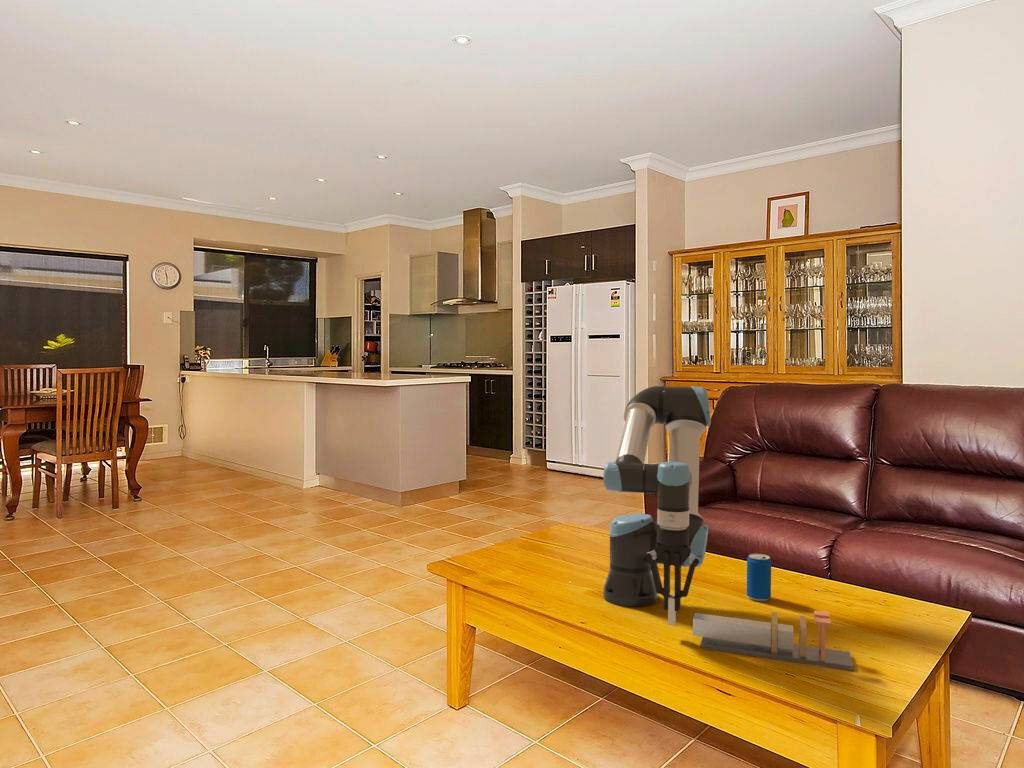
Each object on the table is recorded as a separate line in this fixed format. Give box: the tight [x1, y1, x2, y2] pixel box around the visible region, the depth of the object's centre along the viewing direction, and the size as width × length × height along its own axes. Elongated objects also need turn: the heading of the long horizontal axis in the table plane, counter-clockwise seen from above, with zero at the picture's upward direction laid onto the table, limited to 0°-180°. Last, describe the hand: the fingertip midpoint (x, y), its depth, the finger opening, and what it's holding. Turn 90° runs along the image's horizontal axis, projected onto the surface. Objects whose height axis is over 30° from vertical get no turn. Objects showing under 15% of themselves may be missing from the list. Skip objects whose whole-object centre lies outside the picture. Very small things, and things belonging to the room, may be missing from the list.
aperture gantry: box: [813, 610, 832, 661], centre depth 152 cm, size 3×7×9 cm, turn 159°
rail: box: [700, 611, 855, 672], centre depth 156 cm, size 32×8×8 cm, turn 69°
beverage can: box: [746, 553, 772, 602], centre depth 192 cm, size 6×6×12 cm
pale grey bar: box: [692, 612, 795, 650], centre depth 158 cm, size 22×4×4 cm, turn 69°
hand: (671, 623), depth 164 cm, fingers closed
